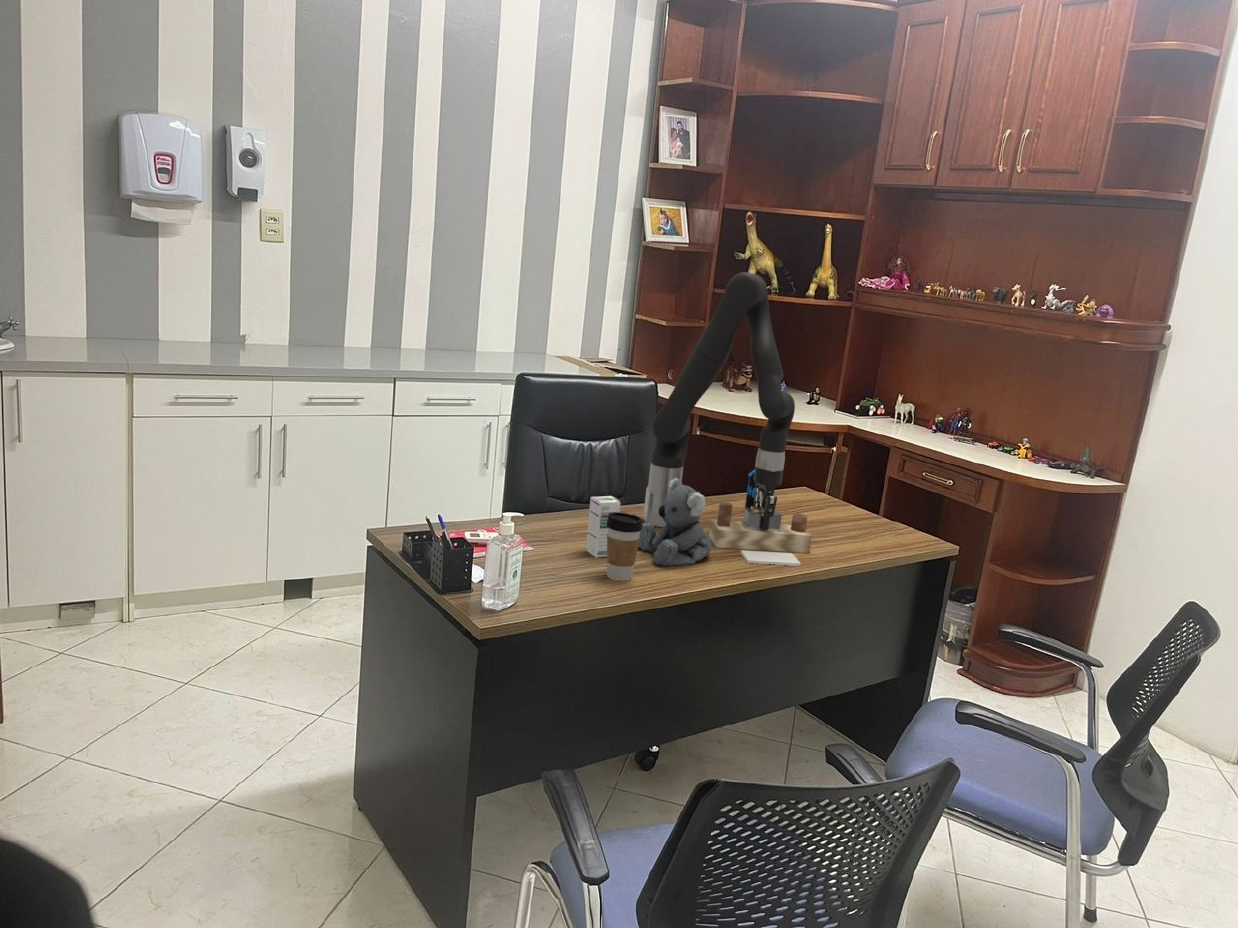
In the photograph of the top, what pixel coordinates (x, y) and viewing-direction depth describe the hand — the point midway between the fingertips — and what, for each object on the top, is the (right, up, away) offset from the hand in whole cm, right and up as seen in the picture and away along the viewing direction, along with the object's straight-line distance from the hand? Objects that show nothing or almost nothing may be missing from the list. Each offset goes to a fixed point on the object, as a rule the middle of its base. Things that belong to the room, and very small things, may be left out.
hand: (761, 526), depth 260 cm
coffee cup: (-39, -10, -34) cm, 53 cm away
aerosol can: (+1, -2, +16) cm, 16 cm away
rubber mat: (+1, -8, -10) cm, 13 cm away
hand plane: (-1, -5, +1) cm, 5 cm away
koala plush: (-24, -7, -14) cm, 29 cm away
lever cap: (0, 0, 0) cm, 0 cm away
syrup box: (-43, -6, -19) cm, 48 cm away
